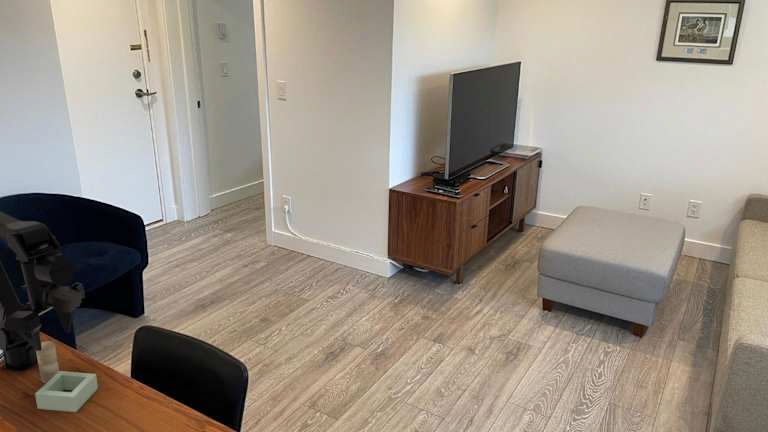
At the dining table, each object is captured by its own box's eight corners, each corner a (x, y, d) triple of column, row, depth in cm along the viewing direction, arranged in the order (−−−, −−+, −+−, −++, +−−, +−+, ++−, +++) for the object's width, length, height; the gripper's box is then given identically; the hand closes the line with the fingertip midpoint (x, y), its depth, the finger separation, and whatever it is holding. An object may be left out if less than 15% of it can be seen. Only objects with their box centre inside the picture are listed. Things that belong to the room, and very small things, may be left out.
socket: (37, 408, 131) (35, 393, 130) (61, 385, 139) (59, 370, 138) (76, 412, 130) (73, 397, 129) (97, 388, 139) (96, 374, 138)
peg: (37, 381, 140) (31, 349, 137) (47, 372, 144) (42, 340, 141) (53, 383, 140) (47, 350, 137) (63, 373, 144) (58, 342, 141)
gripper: (38, 295, 121) (54, 362, 125) (97, 264, 139) (109, 324, 143) (-6, 294, 124) (10, 360, 128) (57, 264, 141) (70, 323, 145)
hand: (54, 341), depth 136 cm, fingers open, 9 cm apart
